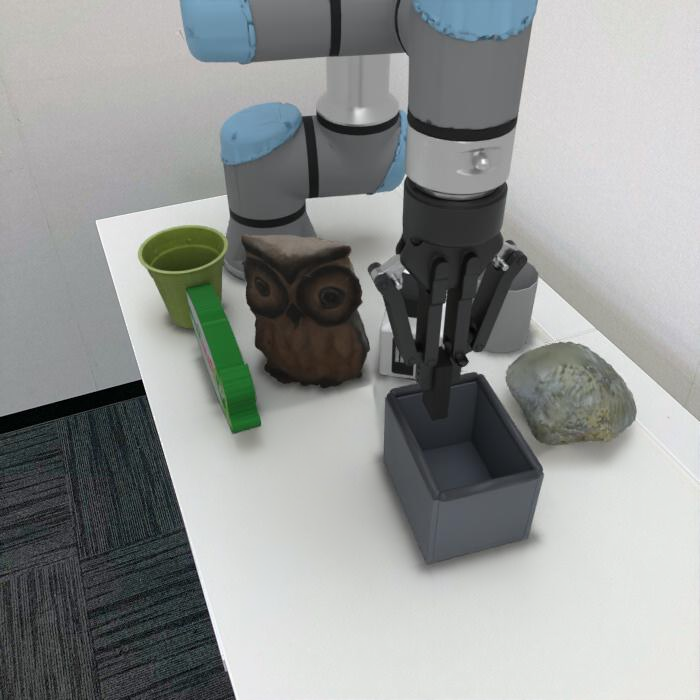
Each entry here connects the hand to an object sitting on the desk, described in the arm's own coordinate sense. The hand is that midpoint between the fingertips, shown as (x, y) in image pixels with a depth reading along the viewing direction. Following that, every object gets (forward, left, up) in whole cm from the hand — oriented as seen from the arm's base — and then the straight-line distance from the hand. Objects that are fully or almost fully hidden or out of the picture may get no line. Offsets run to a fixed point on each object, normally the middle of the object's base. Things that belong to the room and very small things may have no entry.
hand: (434, 409), depth 66 cm
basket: (0, -3, -9) cm, 9 cm away
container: (-22, +6, -14) cm, 27 cm away
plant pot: (-40, -20, -14) cm, 47 cm away
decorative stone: (-7, +20, -14) cm, 26 cm away
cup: (-24, +19, -14) cm, 34 cm away
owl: (-26, -6, -14) cm, 30 cm away
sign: (-26, -18, -14) cm, 34 cm away
